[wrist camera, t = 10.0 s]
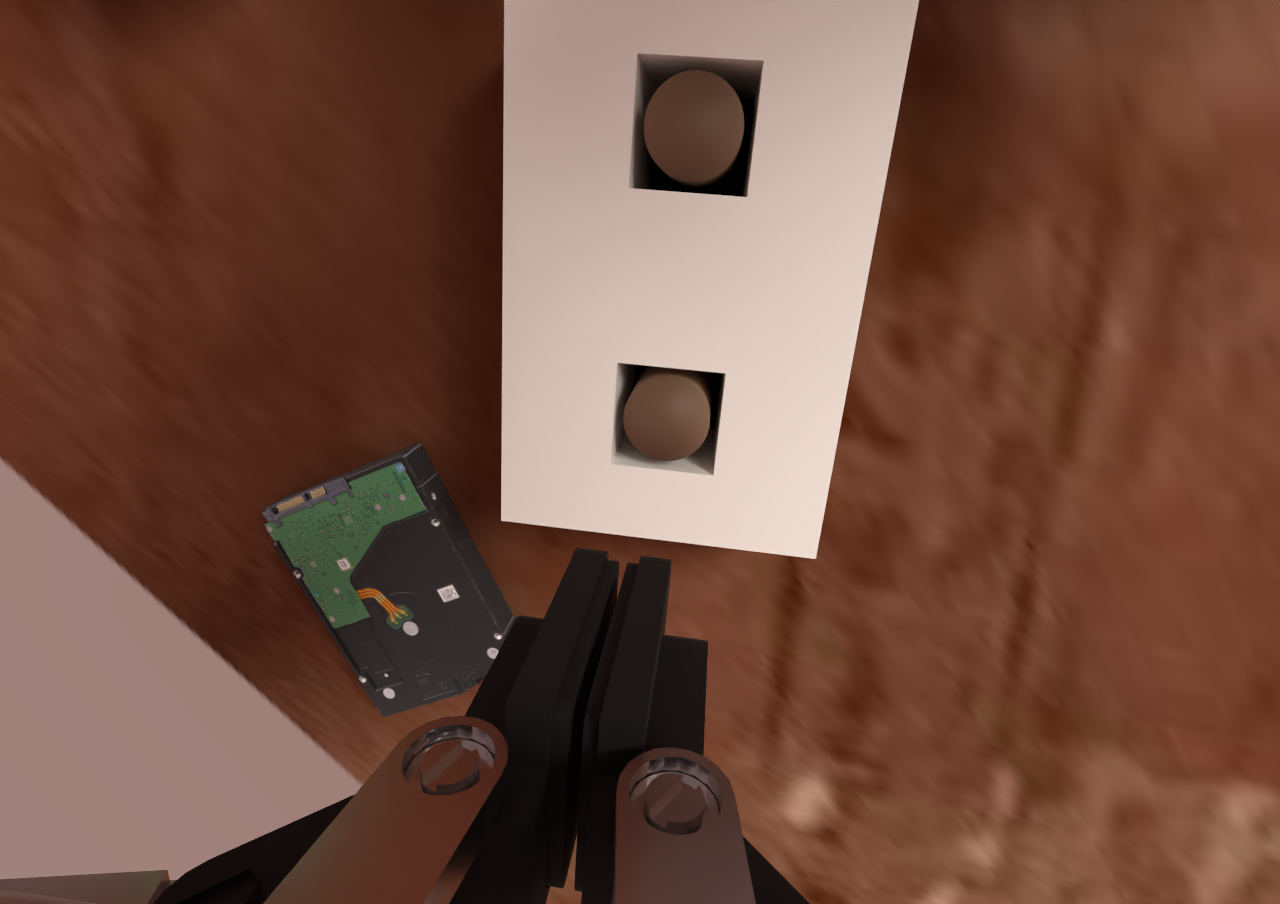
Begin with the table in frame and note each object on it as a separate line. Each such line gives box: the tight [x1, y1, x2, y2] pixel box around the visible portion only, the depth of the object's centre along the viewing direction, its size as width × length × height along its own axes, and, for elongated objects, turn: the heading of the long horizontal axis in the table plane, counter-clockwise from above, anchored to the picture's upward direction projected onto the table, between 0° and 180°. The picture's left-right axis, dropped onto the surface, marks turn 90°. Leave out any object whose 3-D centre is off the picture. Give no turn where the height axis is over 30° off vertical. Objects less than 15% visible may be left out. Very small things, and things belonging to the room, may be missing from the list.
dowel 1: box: [644, 70, 744, 190], centre depth 27 cm, size 4×4×6 cm
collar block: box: [501, 0, 919, 559], centre depth 29 cm, size 14×22×7 cm, turn 176°
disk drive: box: [262, 443, 516, 716], centre depth 39 cm, size 10×3×15 cm
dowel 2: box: [623, 366, 712, 461], centre depth 30 cm, size 4×4×6 cm
